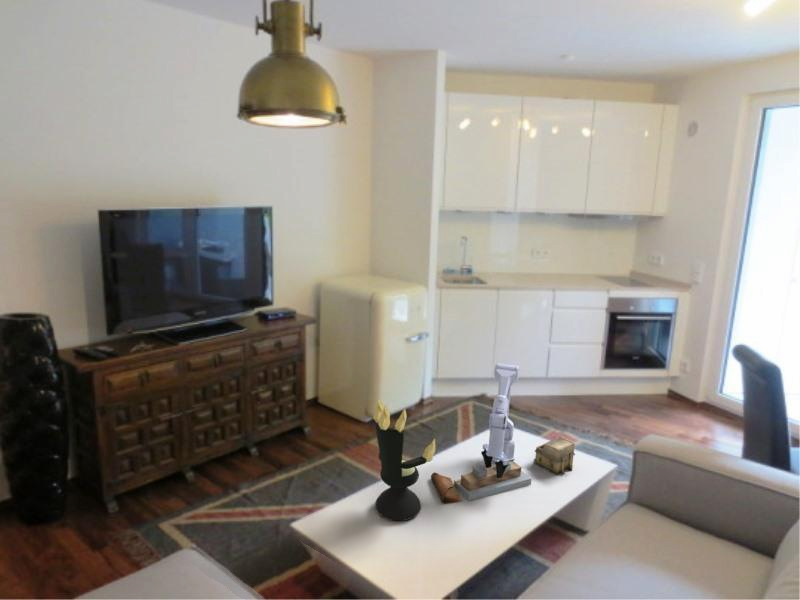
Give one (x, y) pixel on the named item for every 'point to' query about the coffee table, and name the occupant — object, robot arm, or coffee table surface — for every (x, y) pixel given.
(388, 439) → the candelabra
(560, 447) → the ornate brown chest
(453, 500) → the sunglasses case
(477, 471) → the crate
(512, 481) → the dock
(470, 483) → the wooden plank
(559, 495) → the coffee table surface
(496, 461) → the teal square block
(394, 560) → the coffee table surface
